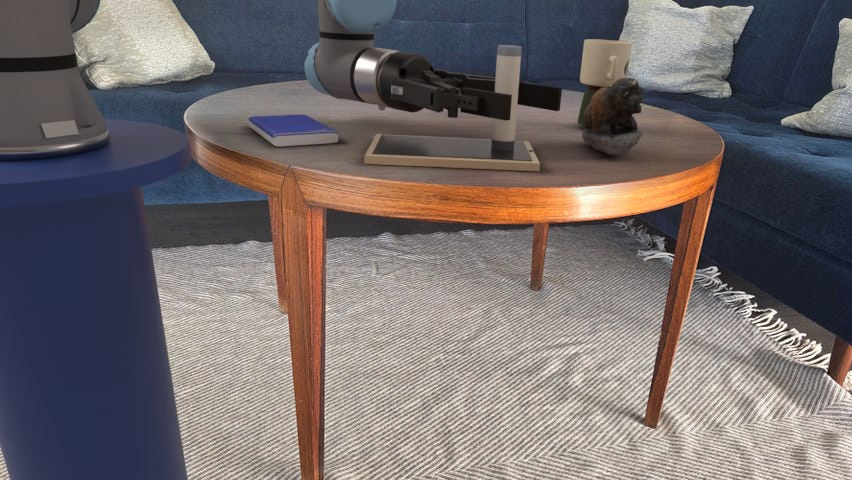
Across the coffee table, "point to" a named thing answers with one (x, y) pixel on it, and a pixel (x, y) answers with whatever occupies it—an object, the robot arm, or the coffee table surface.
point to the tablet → (449, 153)
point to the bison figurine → (614, 117)
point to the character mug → (602, 67)
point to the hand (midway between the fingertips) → (535, 103)
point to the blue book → (292, 130)
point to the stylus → (509, 85)
